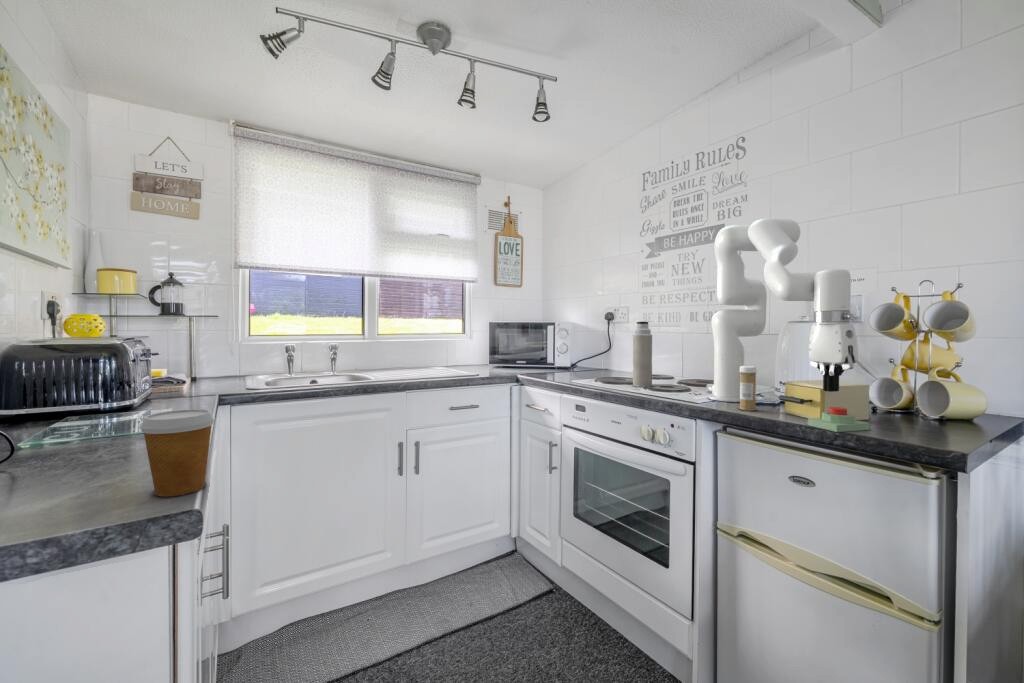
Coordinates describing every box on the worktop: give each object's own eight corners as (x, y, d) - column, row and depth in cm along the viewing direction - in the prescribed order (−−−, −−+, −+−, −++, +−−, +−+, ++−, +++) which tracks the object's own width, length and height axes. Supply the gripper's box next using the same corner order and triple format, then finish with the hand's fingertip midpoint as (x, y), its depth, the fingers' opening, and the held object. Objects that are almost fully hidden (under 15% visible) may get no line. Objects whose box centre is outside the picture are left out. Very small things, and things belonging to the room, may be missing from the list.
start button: (825, 414, 114) (825, 407, 114) (836, 413, 114) (837, 406, 114) (839, 417, 110) (839, 409, 110) (850, 416, 111) (850, 409, 111)
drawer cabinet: (825, 422, 118) (826, 386, 118) (786, 413, 131) (786, 381, 130) (868, 419, 122) (869, 384, 122) (826, 411, 134) (826, 379, 134)
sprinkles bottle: (758, 410, 136) (759, 366, 136) (750, 411, 134) (751, 367, 133) (744, 407, 140) (744, 365, 139) (736, 409, 137) (736, 366, 137)
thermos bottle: (648, 384, 197) (649, 321, 197) (654, 387, 190) (654, 321, 189) (630, 384, 198) (631, 321, 197) (635, 387, 190) (635, 321, 189)
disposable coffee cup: (229, 478, 75) (227, 408, 75) (190, 500, 66) (188, 419, 65) (171, 479, 75) (169, 408, 74) (124, 501, 65) (121, 420, 65)
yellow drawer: (807, 419, 118) (807, 390, 118) (772, 411, 129) (772, 384, 129) (859, 416, 122) (860, 387, 122) (822, 408, 133) (822, 383, 133)
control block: (807, 425, 115) (807, 411, 115) (838, 423, 117) (838, 409, 117) (836, 432, 107) (837, 417, 107) (869, 429, 110) (869, 415, 109)
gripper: (873, 317, 106) (872, 394, 106) (817, 319, 121) (816, 387, 121) (848, 317, 104) (847, 395, 105) (794, 319, 119) (793, 388, 119)
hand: (831, 390), depth 113 cm, fingers closed
